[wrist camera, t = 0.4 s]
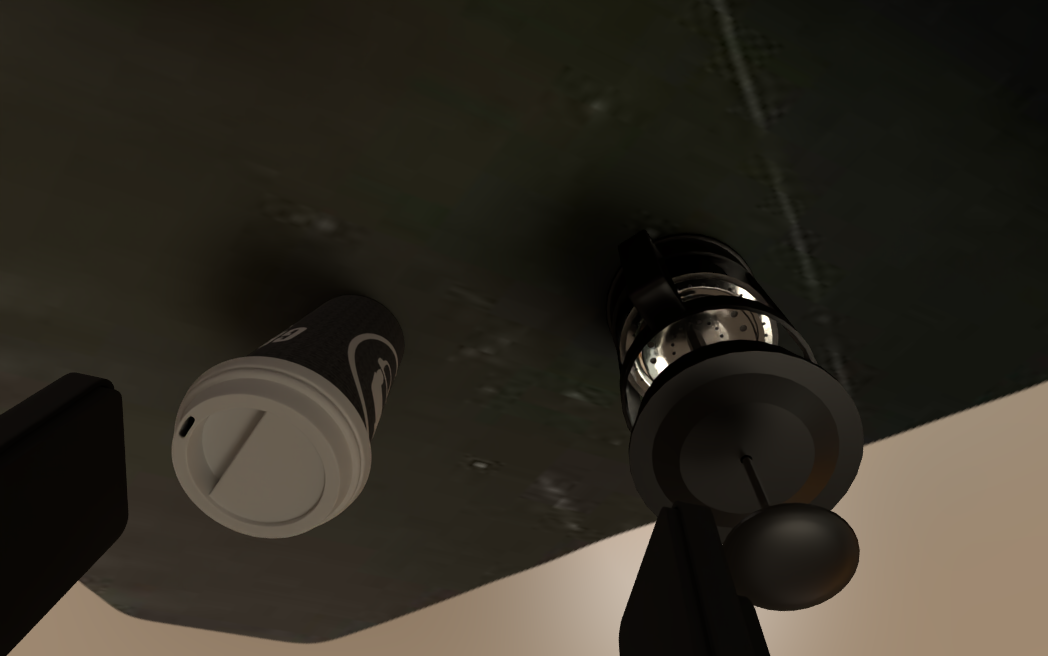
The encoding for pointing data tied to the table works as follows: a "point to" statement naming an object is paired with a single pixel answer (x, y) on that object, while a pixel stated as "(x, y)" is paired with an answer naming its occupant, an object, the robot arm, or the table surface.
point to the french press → (735, 419)
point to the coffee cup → (290, 421)
